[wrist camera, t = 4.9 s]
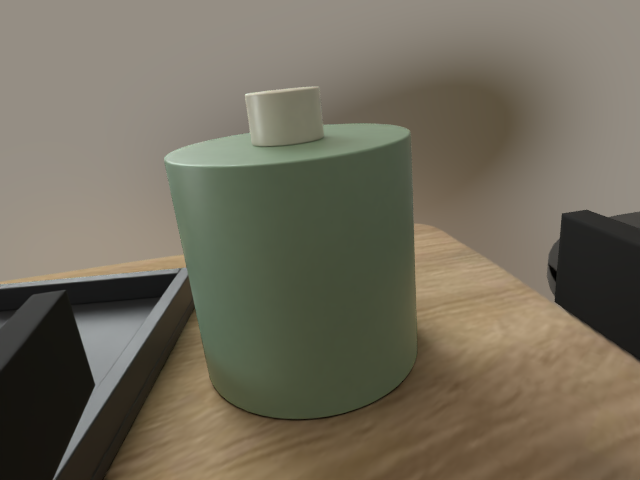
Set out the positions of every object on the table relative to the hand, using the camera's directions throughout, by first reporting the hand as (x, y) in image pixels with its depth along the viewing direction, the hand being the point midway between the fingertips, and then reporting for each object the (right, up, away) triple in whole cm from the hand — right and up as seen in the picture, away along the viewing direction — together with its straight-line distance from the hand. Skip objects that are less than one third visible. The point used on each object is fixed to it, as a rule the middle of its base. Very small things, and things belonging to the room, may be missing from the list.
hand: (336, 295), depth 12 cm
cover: (-1, -4, +10) cm, 11 cm away
